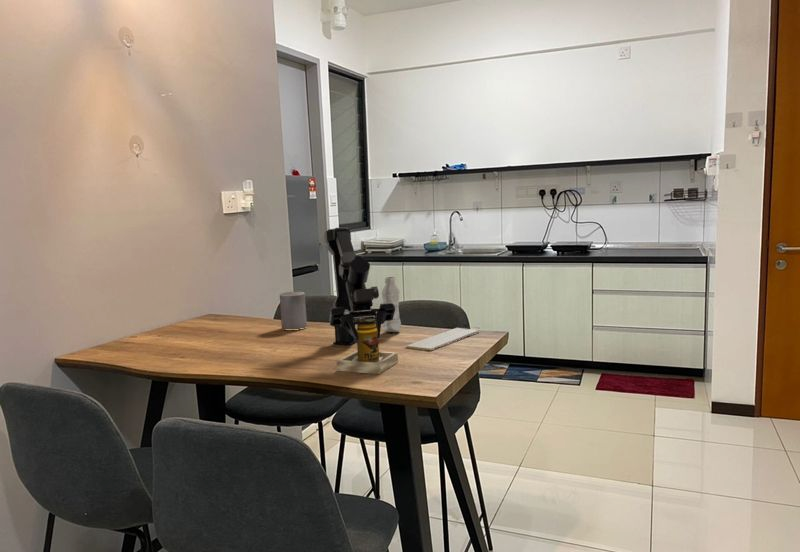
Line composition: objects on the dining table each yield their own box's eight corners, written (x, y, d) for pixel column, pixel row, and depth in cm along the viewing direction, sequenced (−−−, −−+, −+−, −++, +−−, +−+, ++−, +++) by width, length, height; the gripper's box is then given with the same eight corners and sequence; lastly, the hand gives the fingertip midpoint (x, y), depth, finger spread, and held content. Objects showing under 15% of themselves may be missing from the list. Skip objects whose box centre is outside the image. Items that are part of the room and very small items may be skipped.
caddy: (337, 370, 165) (336, 360, 165) (358, 359, 177) (357, 350, 177) (379, 374, 160) (379, 363, 160) (398, 362, 172) (397, 352, 172)
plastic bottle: (404, 331, 216) (402, 276, 214) (394, 334, 210) (392, 279, 208) (390, 329, 219) (387, 276, 217) (379, 333, 214) (377, 278, 211)
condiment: (376, 364, 164) (374, 322, 163) (347, 364, 166) (345, 322, 165) (383, 357, 171) (381, 316, 170) (355, 357, 173) (353, 317, 172)
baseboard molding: (399, 349, 191) (430, 353, 184) (399, 340, 191) (430, 344, 184) (450, 331, 216) (479, 334, 209) (450, 323, 215) (479, 326, 208)
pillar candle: (286, 326, 235) (283, 288, 233) (310, 325, 234) (307, 288, 232) (278, 331, 226) (275, 292, 224) (302, 331, 224) (300, 291, 222)
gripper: (328, 279, 167) (337, 325, 158) (392, 275, 172) (404, 319, 163) (325, 303, 176) (334, 347, 167) (386, 298, 181) (397, 341, 172)
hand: (367, 338), depth 167 cm, fingers closed on condiment, 6 cm apart
